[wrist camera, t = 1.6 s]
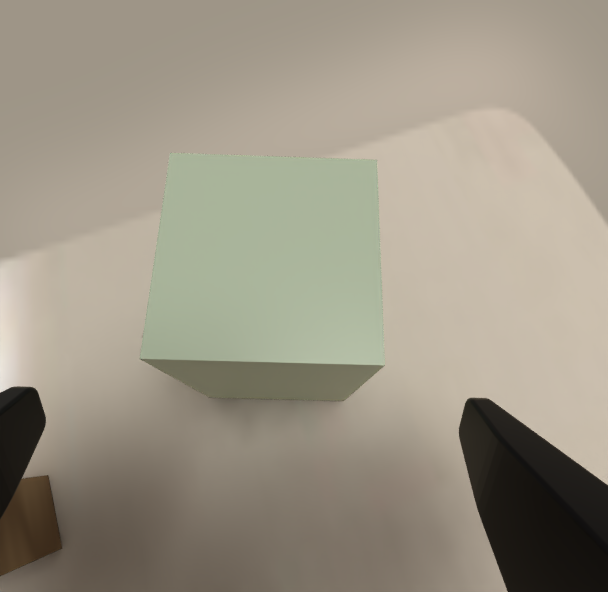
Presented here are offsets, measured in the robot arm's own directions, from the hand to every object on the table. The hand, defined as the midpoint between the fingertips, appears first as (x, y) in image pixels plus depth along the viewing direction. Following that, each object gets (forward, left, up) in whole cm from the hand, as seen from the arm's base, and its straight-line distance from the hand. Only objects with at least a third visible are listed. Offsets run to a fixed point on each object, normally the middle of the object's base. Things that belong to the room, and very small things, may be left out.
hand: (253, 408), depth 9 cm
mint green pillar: (+4, +2, -11) cm, 12 cm away
